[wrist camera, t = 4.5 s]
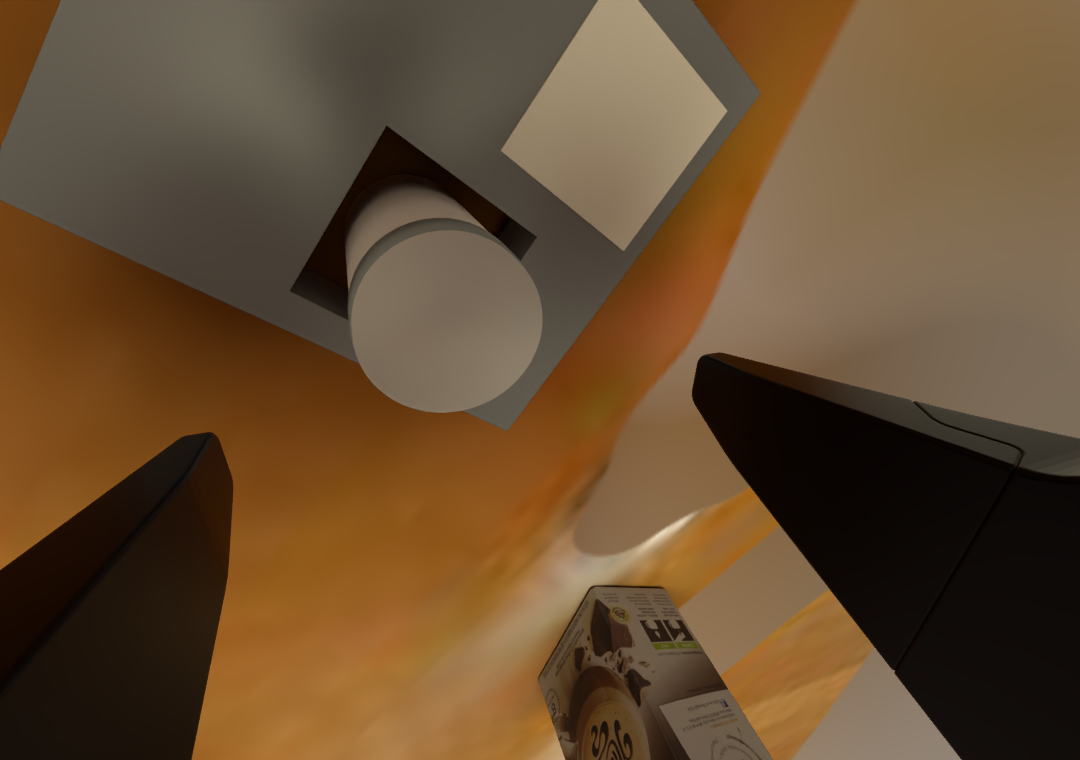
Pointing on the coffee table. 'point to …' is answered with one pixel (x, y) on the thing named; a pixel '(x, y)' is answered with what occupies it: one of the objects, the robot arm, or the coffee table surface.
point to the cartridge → (435, 298)
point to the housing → (370, 138)
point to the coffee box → (641, 686)
